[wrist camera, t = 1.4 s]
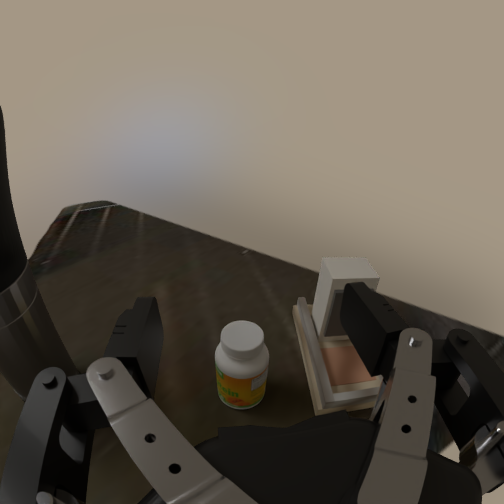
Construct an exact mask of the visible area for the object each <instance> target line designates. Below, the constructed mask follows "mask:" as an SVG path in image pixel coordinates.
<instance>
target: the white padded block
mask: <svg viewBox="0 0 504 504" xmlns="http://www.w3.org/2000/svg"><path fill="white" fill-rule="evenodd" d="M379 279H380V277H379V276H378V275H377V273H376V271H375V270H374V269H373V267H372V266H371V264H370V263H369V261H368V260H367V259H366V258H365V257H356V258H355V257H353V258H351V257H323V258H322V262H321V268H320V273H319V279H318V284H317V289H316V294H315V299H314V304H313V309H312V314H311V319H312V322H313V326H314V329H315V333H316V336H317V339H318V342H323V341H336V340H348V339H349V337H348V336H347V334H346V332H345V330H344V329H343V327H342V325H341V322H340V309H341V304H342V298H343V292H344V287H345V285H346V284H347V283H353V282H364V283H365V284H366V285H367V286H368V288H369V289H370V290H371V291H375V292H376V288H377V285H378V282H379Z"/></svg>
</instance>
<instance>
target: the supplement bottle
mask: <svg viewBox="0 0 504 504" xmlns="http://www.w3.org/2000/svg"><path fill="white" fill-rule="evenodd" d="M268 364H269V352H268V349H267V347H266V345H265V344H264V333H263V331H262V329H261V328H260V327H259V326H258V325H256V324H255V323H252V322H249V321H235V322H232V323H230V324H228V325H226V326H225V327H224V328H223V330H222V332H221V342H220V344H219V345H218V347H217V348H216V351H215V365H216V376H217V388H218V394H219V397H220V399H221V400H222V401H223V402H224V403H225V404H226V405H227V406H229V407H231V408H235V409H249V408H252V407H254V406H256V405H257V404H258V403H259V402H260V401H261V400H262V399H263V396H264V393H265V388H266V380H267V372H268Z"/></svg>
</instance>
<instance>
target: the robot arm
mask: <svg viewBox="0 0 504 504" xmlns="http://www.w3.org/2000/svg"><path fill="white" fill-rule="evenodd" d="M340 322H341V325H342V327H343V329H344V330H345V332H346V334H347V336H348V337H349V339H350V341H351V342H352V344H353V346H354V348H355V349H356V351H357V353H358V355H359V356H360V358H361V360H362V362H363V364H364V365H365V367H366V369H367V371H368V372H369V374H370V376H371V377H374V376H378V375H382V377H383V379H382V382H381V384H380V388H379V391H378V395H377V398H376V401H375V405H374V408H373V411H372V414H371V417H370V419H369V420H367V419H362V418H354V417H349V416H348V414H347V411H346V409H345V410H340V411H336V412H332V413H327V414H322V415H317V416H315V417H312V418H310V419H308V420H305V421H303V422H300V423H298V424H295V425H293V426H290V427H287V428H276V427H264V426H253V425H248V426H236V427H221V428H218V436H217V437H214V438H211V439H208V440H206V441H204V442H202V443H200V444H198V445H196V446H195V447H193V446H192V445H191V444H190V443H189V442H188V441H187V440H186V439H185V438H184V437H183V436H182V434H181V433H180V432H179V431H178V430H177V429H176V428H175V426H174V425H173V424H172V423H171V422H170V421H169V420H168V418H167V417H166V416H165V415H164V414H163V412H162V411H161V410H160V409H159V407H158V406H157V405H156V404H155V402H154V394H155V387H156V380H157V374H158V368H159V362H160V356H161V350H162V345H163V326H162V322H161V318H160V313H159V309H158V304H157V300H156V298H155V297H138V298H137V299H136V302H135V304H134V307H133V309H130V310H125V311H124V312H123V313H122V314H121V315H120V316H119V318H118V320H117V323H116V325H115V327H114V330H113V334H112V335H111V338H110V340H109V343H108V345H107V348H106V351H105V353H104V356H103V358H101V359H98V360H96V361H95V362H93V363H92V364H91V365H90V366H89V368H88V369H87V373H84V374H80V373H79V371H78V370H77V368H76V366H75V365H74V363H73V361H72V359H71V357H70V356H69V354H68V352H67V350H66V348H65V346H64V344H63V342H62V340H61V338H60V336H59V334H58V332H57V330H56V328H55V326H54V324H53V322H52V320H51V317H50V315H49V313H48V311H47V309H46V306H45V304H44V302H43V299H42V297H41V294H40V292H39V289H38V287H37V284H36V282H35V279H34V277H33V274H32V271H31V268H30V265H29V262H28V259H27V256H26V253H25V250H24V247H23V244H22V241H21V237H20V233H19V229H18V226H17V222H16V217H15V213H14V209H13V204H12V200H11V193H10V186H9V179H8V169H7V158H6V142H5V129H4V120H3V114H2V110H1V106H0V372H1V373H2V375H3V376H4V377H5V379H6V380H7V381H8V383H9V384H10V385H11V386H12V388H13V389H14V390H15V391H16V393H17V394H18V395H19V396H20V397H21V398H22V399H23V400H24V402H25V404H24V407H23V410H22V413H21V415H20V418H19V421H18V424H17V427H16V430H15V433H14V436H13V439H12V443H11V446H10V449H9V453H8V457H7V460H6V464H5V468H4V472H3V477H2V481H1V486H0V504H86V493H87V483H88V474H89V466H90V458H91V451H92V445H93V439H94V433H95V429H99V428H104V427H110V426H112V428H113V430H114V431H115V433H116V435H117V436H118V438H119V439H120V441H121V443H122V444H123V446H124V447H125V449H126V450H127V452H128V453H129V455H130V456H131V458H132V459H133V461H134V462H135V463H136V465H137V466H138V468H139V469H140V470H141V472H142V473H143V475H144V476H145V477H146V479H147V480H148V481H149V483H150V484H151V485H152V486H153V489H152V490H151V491H150V492H149V493H148V494H147V495H146V496H145V497H144V498H143V499H142V500H141V501H140V502H139V503H138V504H482V503H481V502H482V495H483V494H485V493H490V492H492V491H494V490H495V489H496V488H498V487H500V486H501V485H502V484H503V483H504V373H503V372H502V371H501V369H500V368H499V367H498V365H497V364H496V363H495V362H494V360H493V359H492V358H491V357H490V355H489V354H488V353H487V352H486V351H485V349H484V348H483V347H482V346H481V345H480V343H479V342H478V341H477V340H476V339H475V338H474V336H473V335H472V334H470V333H469V332H468V331H465V330H463V329H453V330H451V331H450V332H449V334H448V336H447V338H446V340H432V339H431V337H430V336H429V335H428V334H427V333H426V332H425V331H423V330H420V329H417V328H409V327H408V325H407V324H406V323H405V322H404V321H403V319H402V318H401V317H400V316H399V315H398V313H397V312H396V311H394V309H393V308H392V306H391V305H389V303H388V302H387V301H386V299H385V298H384V297H383V296H381V295H380V294H378V293H376V292H375V291H371V290H370V289H369V288H368V286H367V285H366V284H365V283H364V282H353V283H347V284H346V285H345V287H344V292H343V298H342V304H341V309H340ZM460 374H462V375H463V377H464V378H465V380H466V381H467V383H468V384H469V386H470V396H469V398H468V396H467V395H466V393H465V391H464V390H463V388H462V387H461V385H460V384H459V382H458V381H457V379H458V378H459V376H460ZM434 404H435V405H436V407H437V409H438V411H439V413H440V414H441V416H442V418H443V420H444V422H445V424H446V425H447V427H448V429H449V431H450V433H451V435H452V437H453V439H454V441H455V443H456V445H457V446H458V449H459V451H460V454H459V460H460V462H459V463H457V462H455V461H453V460H451V459H448V458H446V457H444V456H442V455H440V454H438V453H435V452H433V451H431V450H429V449H427V446H428V441H429V435H430V429H431V422H432V415H433V407H434Z"/></svg>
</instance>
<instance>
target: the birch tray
mask: <svg viewBox="0 0 504 504" xmlns="http://www.w3.org/2000/svg"><path fill="white" fill-rule="evenodd" d="M312 309H313V305H307V303H306V299H305V297H298V301H297V305H294V306H293V312H292V313H293V317H294V322H295V326H296V330H297V335H298V339H299V343H300V348H301V352H302V357H303V361H304V366H305V370H306V375H307V379H308V384H309V389H310V393H311V398H312V403H313V407H314V412H315V416H317V415H322V414H327V413H332V412H336V411H340V410H345V409H346V411H347V412H349V411H355V410H360V409H366V408H371V407H374V405H375V401H376V398H377V395H378V391H379V388H380V384H381V382H382V379H383V377H382V375H378V376H374V377H371V376H370V374H369V372H368V371H367V369H366V367H365V365H364V364H363V362H362V360H361V358H360V356H359V355H358V353H357V351H356V349H355V348H354V346H353V344H352V342H351V341H350V339H348V340H336V341H323V342H318V339H317V336H316V333H315V329H314V326H313V322H312V319H311V314H312Z"/></svg>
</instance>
